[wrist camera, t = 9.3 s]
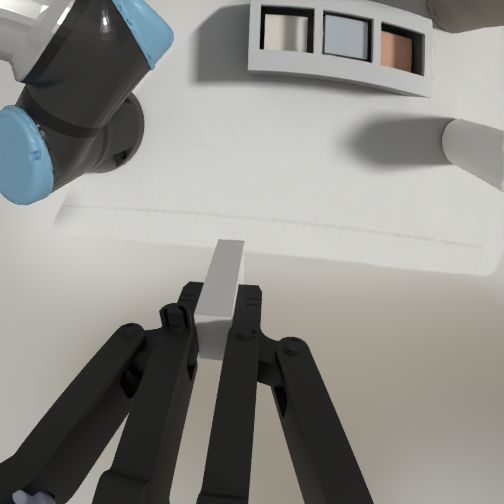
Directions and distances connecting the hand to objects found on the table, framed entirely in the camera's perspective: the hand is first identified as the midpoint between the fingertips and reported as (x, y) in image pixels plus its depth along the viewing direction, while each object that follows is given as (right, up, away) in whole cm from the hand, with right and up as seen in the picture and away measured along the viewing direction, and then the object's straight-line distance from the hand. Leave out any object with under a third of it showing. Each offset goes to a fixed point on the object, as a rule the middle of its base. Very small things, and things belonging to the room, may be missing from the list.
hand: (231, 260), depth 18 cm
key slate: (+13, +29, +13) cm, 34 cm away
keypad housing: (+13, +30, +16) cm, 37 cm away
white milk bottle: (+36, +19, +21) cm, 46 cm away
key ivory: (+6, +30, +15) cm, 35 cm away
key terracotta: (+21, +30, +15) cm, 39 cm away
